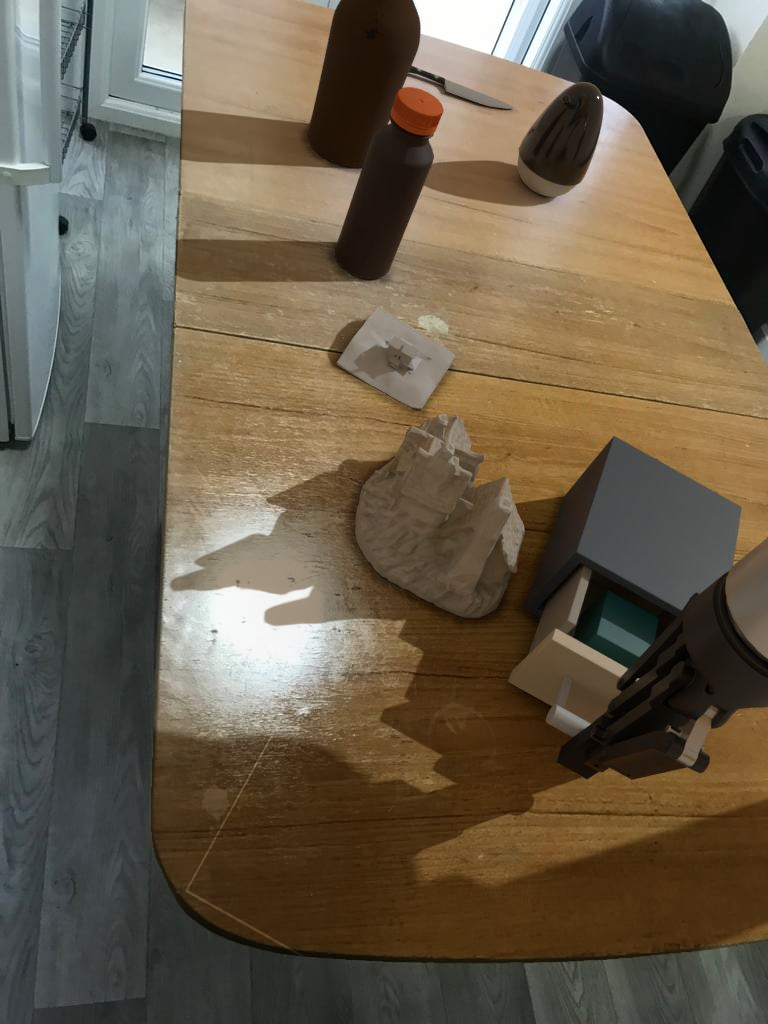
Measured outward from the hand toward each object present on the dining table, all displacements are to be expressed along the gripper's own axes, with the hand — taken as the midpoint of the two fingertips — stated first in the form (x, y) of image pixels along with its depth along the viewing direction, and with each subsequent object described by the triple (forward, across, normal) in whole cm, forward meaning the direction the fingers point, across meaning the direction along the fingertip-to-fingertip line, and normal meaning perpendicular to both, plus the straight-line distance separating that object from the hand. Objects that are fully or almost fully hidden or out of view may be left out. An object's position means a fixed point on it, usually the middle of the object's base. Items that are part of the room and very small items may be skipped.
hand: (574, 762), depth 65 cm
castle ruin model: (+3, +17, +17) cm, 24 cm away
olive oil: (+3, +68, +51) cm, 85 cm away
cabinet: (+3, +22, 0) cm, 22 cm away
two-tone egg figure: (+3, +85, +26) cm, 88 cm away
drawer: (+2, +10, 0) cm, 10 cm away
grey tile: (+3, +35, +29) cm, 45 cm away
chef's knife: (+3, +98, +44) cm, 107 cm away
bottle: (+3, +48, +39) cm, 62 cm away
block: (+1, +12, 0) cm, 12 cm away
